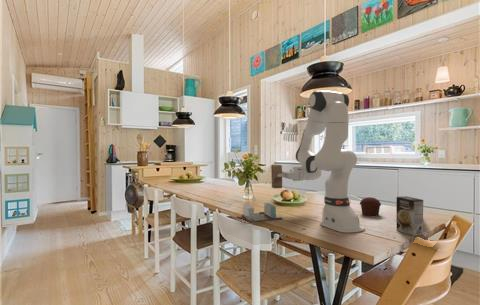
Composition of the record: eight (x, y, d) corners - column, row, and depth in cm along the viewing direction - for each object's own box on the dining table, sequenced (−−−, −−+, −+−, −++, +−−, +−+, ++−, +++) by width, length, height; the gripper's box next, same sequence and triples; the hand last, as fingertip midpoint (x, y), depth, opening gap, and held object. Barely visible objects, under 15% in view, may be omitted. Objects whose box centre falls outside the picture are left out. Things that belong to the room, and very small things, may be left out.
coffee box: (395, 230, 128) (395, 196, 128) (405, 228, 130) (405, 195, 130) (413, 236, 119) (413, 200, 119) (423, 234, 121) (423, 199, 121)
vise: (282, 219, 150) (282, 207, 150) (248, 222, 146) (248, 209, 146) (272, 212, 166) (272, 201, 166) (241, 215, 161) (241, 203, 161)
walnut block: (282, 188, 163) (281, 165, 163) (274, 188, 162) (274, 165, 162) (279, 186, 168) (278, 164, 168) (271, 187, 167) (271, 165, 167)
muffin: (367, 217, 151) (367, 200, 151) (355, 213, 162) (355, 196, 162) (385, 216, 154) (385, 199, 154) (372, 211, 165) (372, 195, 165)
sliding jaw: (275, 217, 151) (275, 206, 151) (270, 218, 151) (270, 206, 151) (268, 212, 163) (268, 202, 163) (264, 213, 162) (263, 202, 162)
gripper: (289, 167, 178) (269, 168, 175) (303, 170, 158) (281, 170, 155) (289, 177, 178) (269, 178, 175) (303, 180, 158) (281, 181, 155)
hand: (275, 174), depth 165 cm, fingers closed on walnut block, 5 cm apart
